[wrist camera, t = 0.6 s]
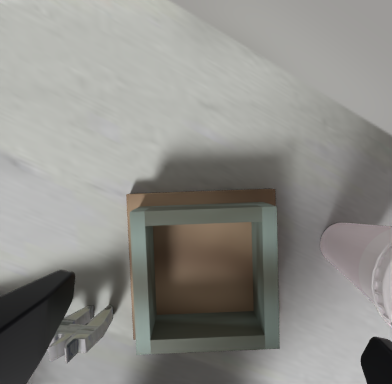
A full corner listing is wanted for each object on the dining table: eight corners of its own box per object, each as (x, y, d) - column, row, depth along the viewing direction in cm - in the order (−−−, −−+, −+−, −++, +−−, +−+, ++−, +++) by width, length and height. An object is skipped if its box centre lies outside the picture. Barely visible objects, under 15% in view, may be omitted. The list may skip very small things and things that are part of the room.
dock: (273, 325, 24) (294, 361, 19) (136, 331, 24) (122, 369, 19) (271, 188, 23) (291, 191, 19) (129, 193, 23) (114, 197, 18)
